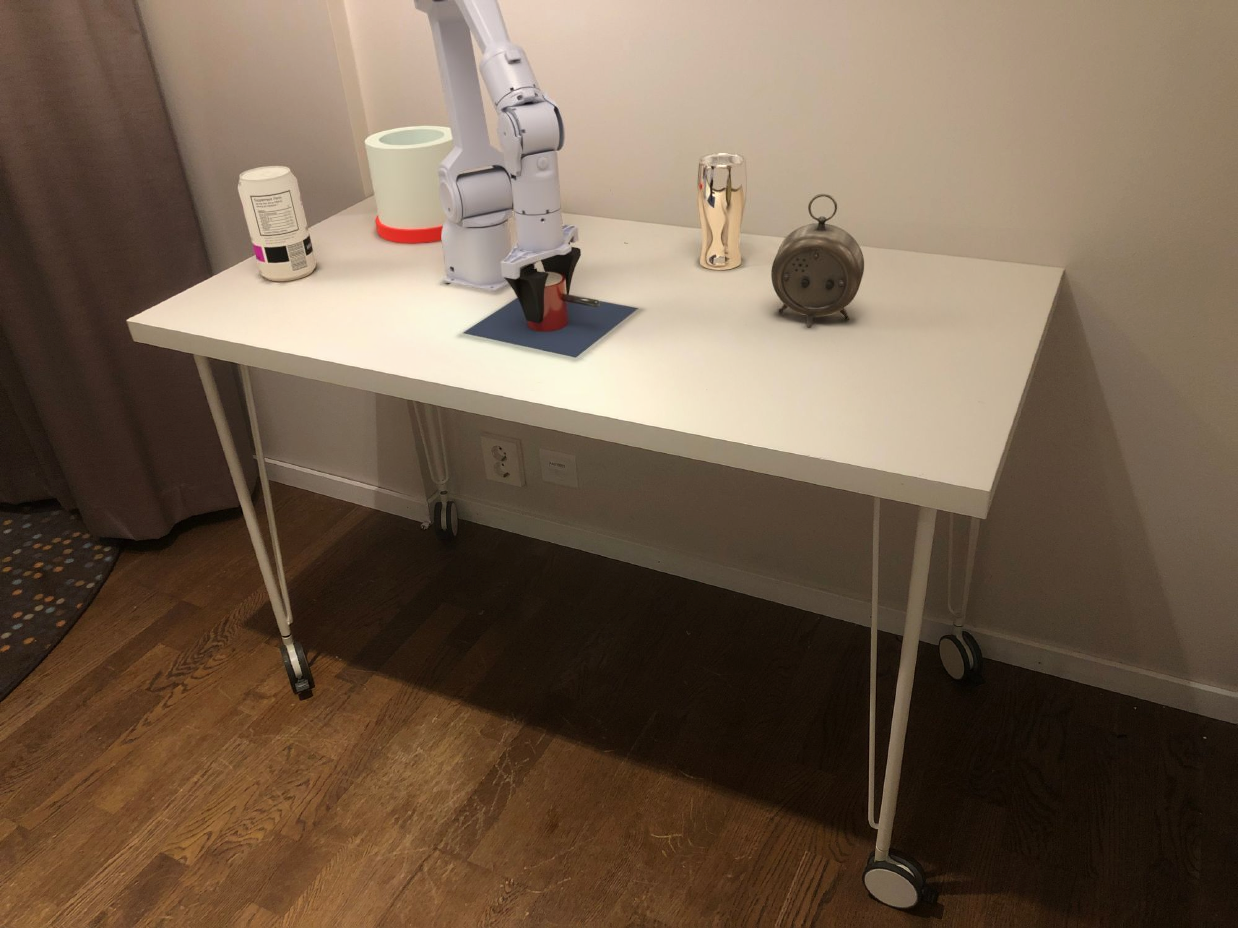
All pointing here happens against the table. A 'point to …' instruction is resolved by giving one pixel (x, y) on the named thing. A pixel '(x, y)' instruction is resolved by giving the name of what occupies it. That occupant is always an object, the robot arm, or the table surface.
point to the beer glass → (721, 208)
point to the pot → (557, 304)
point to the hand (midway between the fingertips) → (546, 312)
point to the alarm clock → (818, 269)
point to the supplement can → (276, 223)
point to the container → (408, 181)
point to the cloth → (567, 341)
